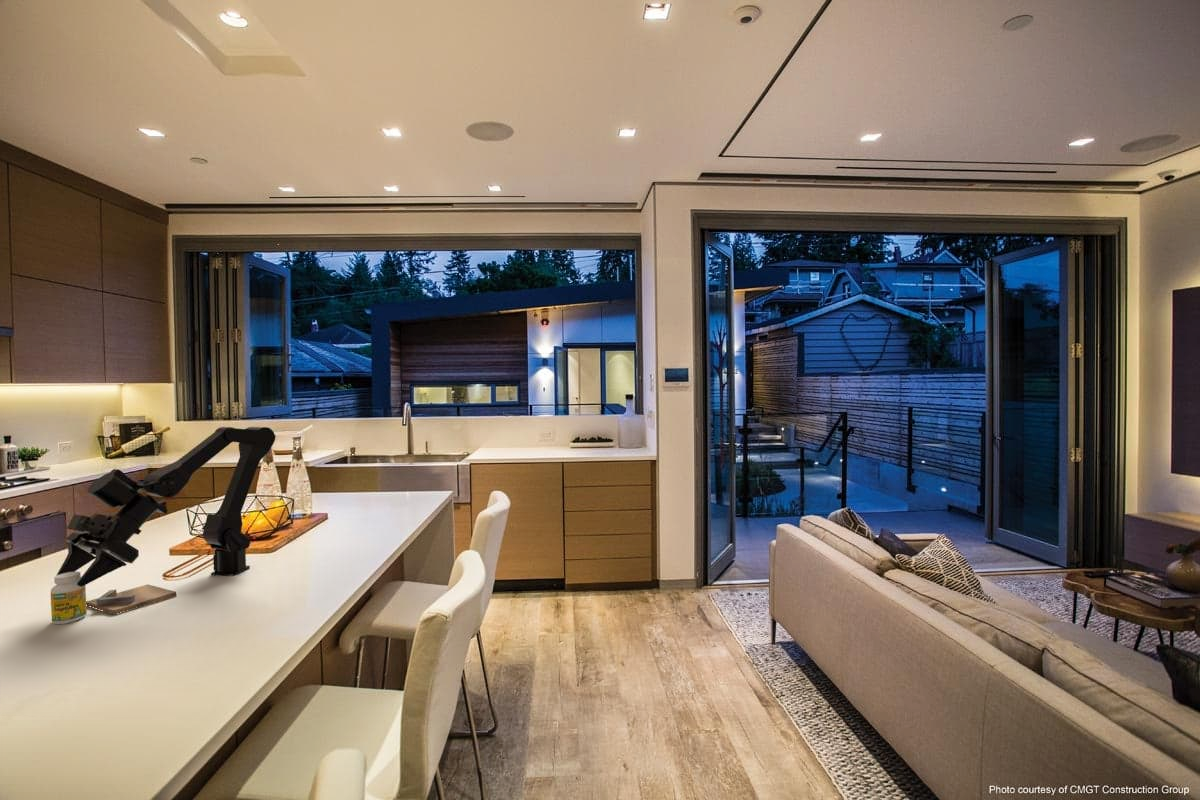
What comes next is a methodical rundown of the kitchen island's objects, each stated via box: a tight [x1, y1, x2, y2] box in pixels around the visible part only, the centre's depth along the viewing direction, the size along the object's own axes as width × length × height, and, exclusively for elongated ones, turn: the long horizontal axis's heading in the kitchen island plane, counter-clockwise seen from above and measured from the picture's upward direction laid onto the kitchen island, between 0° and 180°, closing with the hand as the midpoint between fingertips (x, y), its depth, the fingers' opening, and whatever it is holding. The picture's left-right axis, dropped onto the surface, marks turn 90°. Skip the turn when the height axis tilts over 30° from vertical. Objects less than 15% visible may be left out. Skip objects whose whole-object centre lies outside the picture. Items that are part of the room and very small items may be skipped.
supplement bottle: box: [50, 571, 88, 625], centre depth 118 cm, size 5×5×10 cm
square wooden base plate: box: [86, 584, 177, 615], centre depth 128 cm, size 12×12×2 cm
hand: (67, 582), depth 118 cm, fingers open, 9 cm apart
